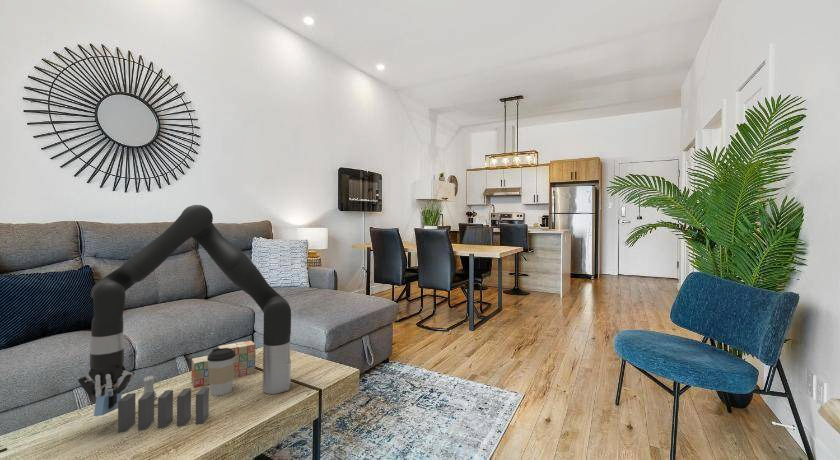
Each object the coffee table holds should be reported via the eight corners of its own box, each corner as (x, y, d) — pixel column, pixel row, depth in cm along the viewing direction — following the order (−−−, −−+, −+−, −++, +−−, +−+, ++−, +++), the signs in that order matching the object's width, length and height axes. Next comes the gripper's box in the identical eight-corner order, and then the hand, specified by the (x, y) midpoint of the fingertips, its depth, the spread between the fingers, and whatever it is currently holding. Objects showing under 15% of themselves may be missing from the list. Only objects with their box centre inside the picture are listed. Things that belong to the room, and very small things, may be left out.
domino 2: (154, 420, 109) (154, 391, 109) (145, 429, 104) (146, 399, 104) (146, 421, 109) (146, 392, 109) (138, 430, 104) (138, 399, 104)
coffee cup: (241, 387, 132) (241, 347, 132) (220, 398, 123) (220, 355, 123) (222, 384, 135) (222, 344, 135) (200, 394, 126) (201, 352, 126)
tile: (122, 389, 110) (104, 396, 102) (120, 407, 109) (102, 415, 100) (114, 390, 110) (96, 397, 101) (112, 408, 108) (93, 416, 100)
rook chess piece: (147, 404, 119) (148, 380, 119) (137, 402, 120) (137, 379, 120) (160, 397, 124) (160, 374, 124) (149, 396, 125) (149, 373, 124)
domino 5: (208, 415, 113) (208, 386, 113) (203, 423, 108) (203, 393, 108) (201, 415, 112) (201, 387, 112) (195, 424, 107) (195, 394, 107)
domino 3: (172, 418, 110) (173, 389, 110) (165, 427, 106) (165, 397, 106) (165, 419, 110) (165, 390, 110) (157, 428, 105) (157, 398, 105)
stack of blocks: (193, 388, 131) (193, 355, 131) (191, 382, 136) (191, 350, 136) (255, 373, 145) (255, 343, 145) (251, 369, 150) (251, 339, 150)
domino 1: (135, 422, 108) (135, 393, 108) (126, 431, 103) (126, 400, 103) (127, 423, 108) (127, 393, 108) (117, 432, 103) (118, 401, 103)
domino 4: (190, 416, 112) (191, 388, 112) (184, 425, 107) (184, 395, 107) (183, 417, 111) (183, 388, 111) (176, 426, 106) (177, 396, 106)
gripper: (141, 343, 109) (140, 399, 109) (88, 346, 106) (87, 404, 106) (127, 351, 102) (126, 412, 102) (70, 355, 99) (69, 417, 99)
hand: (106, 407), depth 104 cm, fingers closed on tile, 1 cm apart
